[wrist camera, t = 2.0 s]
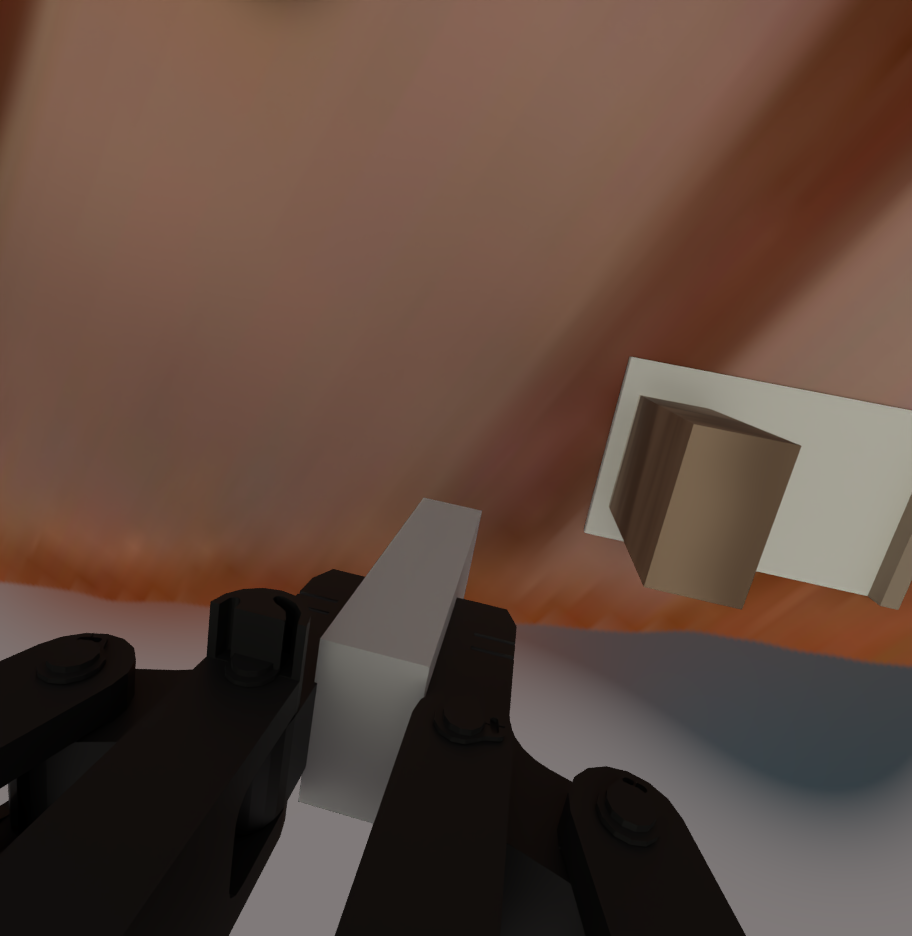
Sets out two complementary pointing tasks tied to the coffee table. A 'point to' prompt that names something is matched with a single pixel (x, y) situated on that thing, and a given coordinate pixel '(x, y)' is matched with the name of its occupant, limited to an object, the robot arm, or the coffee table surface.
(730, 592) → the block
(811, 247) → the coffee table surface
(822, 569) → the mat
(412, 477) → the coffee table surface
